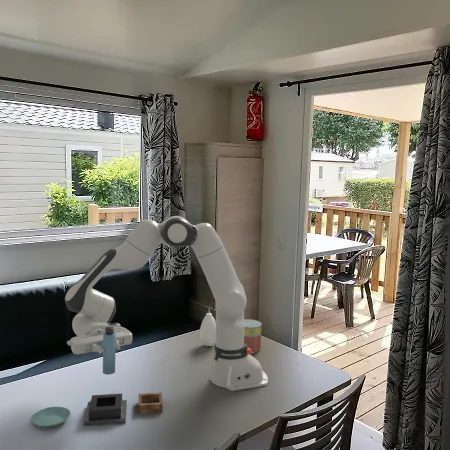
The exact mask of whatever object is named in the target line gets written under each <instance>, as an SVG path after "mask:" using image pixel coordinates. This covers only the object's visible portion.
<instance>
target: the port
mask: <svg viewBox="0 0 450 450" xmlns="http://www.w3.org/2000/svg"><path fill="white" fill-rule="evenodd" d="M90 399H91V400H89V401H88V402H87V403H86V404H87V405H86V409H85V414H84V418H83V427H86V426H87V427H88V426H91V427H92V426H103V425H104V426H105V425H118V424H126V422H127V408H128V407H127V405H128V400H127V399H124V400H123V393H110V394H109V393H106V394H94V395H93V394H92V395H91V398H90Z"/></svg>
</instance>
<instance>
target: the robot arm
mask: <svg viewBox="0 0 450 450" xmlns="http://www.w3.org/2000/svg"><path fill="white" fill-rule="evenodd" d="M164 243H165V244H167V245H169V246H171V247H174V248H181V247H182V248H183V247H187V246H190V248H191V249H192V250H193V253H194V254H195V256H196V259H197V260H198V262H199V265H200V267H201V270H202V272H203V274H204V275H205V278H206V281H207V283H208V286H209V288H210V291H211V293H212V296H213V298H214V300H215V322H216V340H215V342H214V344H213V346H214V347H213V359H214V360H213V367H212V372H211V375H210V378H209V380H210V382H211V383H212V384H214V385H215V386H218V387H221V388H223V389H227V390H229V391H233V392H235V391H241V390H246V389H253V388H258V387H264V386H265V387H266V386H267V385H268V384H269V377H268V375H267V373H266V372H265V371H263V368H262V365H261V363H260V361H259V360H258V359H257V358H255V357H254V356H252V355H251V354H253V353H252V350H251V349H250V348H249V347H248V346H247V345H246V344H245V343H244V319H245V309H246V306H247V300H248V299H247V295H246V292H245V288H244V286H243V284H242V283H241V282H240V280H239V277H238V275H237V272H236V270H235V268H234V266H233V263H232V261H231V258H230V256H229V254H228V252H227V250H226V248H225V246H224V244H223V241H222V240H221V237H220V236H219V235H218V233H217V231H216V229H215V228H214V227H213V225H212V224H210V223H208V222H201V223H197V224H195V225H194V224H191V222H189V221H188V220H187V219H186V218H184V217H183V216H179V215H174V216H173V215H172V216H170V217H167V218H165V219H164V220H162V221H159V222H156V221H155V220H153V219H147V218H146V219H143V220H141V221H140V222H139V223H137V225H136V226H135V227H134V228H133V229H132V230H131V232H130V233H129V235H128V236H127V237H126V239H125V240H124V242H123V243H121V244H120V245H118V246H117V247H115V248H114V249H113V248H111V249H108V250H107V251H106V252H105V253H103V255H102V256H100V257H99V259H98V260H97V261H95V263H94V264H93V265H92V266H91V267H90V268H89V269H88V271H87V272H86V273H84V275H83V276H82V277H81V278H80V279H79V280H78V281H77V282H76V283H74V284H72V286H70V288H69V289H68V290H67V292H66V294H65V296H64V302H65V305H66V307H67V308H66V309H68V311H70V312H75V313H77V314H76V315H74V317H73V319H72V322H71V324H72V325H71V326H72V330H73V332H74V334H75V335H76V336H74V337H72V338H70V340H67V342H66V344H67V346H68V347H69V346H70V350H71V351H72V353H73V354H74V355H81V354H83V355H84V354H87V353H93V352H94V353H98V354H100V355H101V354H103V353H104V347H103V333H105V328H106V327H110V326H111V327H114V332H115V333H116V351H119V350H121V347H122V346H128V345H132V343H133V333H132V332H131V331H130V330H129V329H127V328H125V327H123V326H121V324H120V323H118V322H113V323H111V322H112V320H113V319H114V317H115V314H116V312H117V304H116V300H115V298H114V297H113V296H110V295H108V294H105V293H103V292H101V291H99V290H97V289H95V288H93V287H94V286H95V285H96V284H97V282H98V281H99V280H100V279H101V278H102V277H103V276H104V275H105V274H107V272H109V271H112V270H126V271H127V270H128V271H133V270H138V269H141V268H143V267H144V266H145V265H146V264H147V263H148V261H149V260H150V259H151V257H152V255H153V254H154V252H155V251H156V250H157V248H158V247H159V246H160V245H161V244H164Z"/></svg>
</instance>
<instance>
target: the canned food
mask: <svg viewBox="0 0 450 450" xmlns="http://www.w3.org/2000/svg"><path fill="white" fill-rule="evenodd" d="M262 324H263V323H262V322H261V321H259V320H256V319H252V318H250V319H249V318H248V319H247V318H246V319H245V318H244V343H245V344H246V345H247V346H248V347H249V348H250V349H251V350H252V352H256V351H259V350H260V348H261V347H262V346H261V345H262V344H261V343H262ZM260 351H261V350H260ZM260 351H259V352H260ZM256 353H257V352H256Z"/></svg>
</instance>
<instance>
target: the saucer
mask: <svg viewBox="0 0 450 450" xmlns="http://www.w3.org/2000/svg"><path fill="white" fill-rule="evenodd" d="M70 416H71V410H70V409H69V408H67V407H64V406H49V407H46V408H42V409H39V410H38V411H35V413H33V414H32V415H31V417H30V422H31V423H32V424H34V425H35V426H37V427H39V428H43V429H51V428H55V427H58V426H60V425H61V424H64V422H66V421H67V419H69V418H70Z"/></svg>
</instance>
